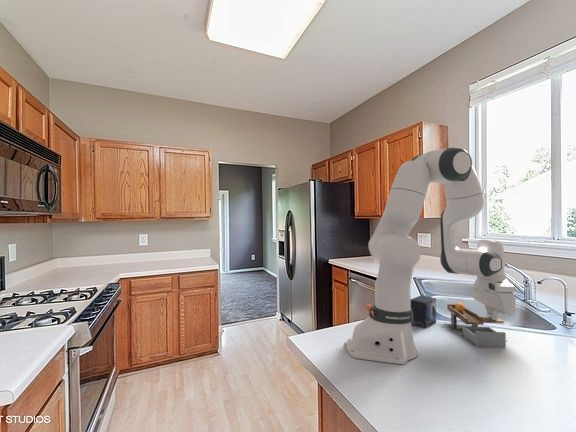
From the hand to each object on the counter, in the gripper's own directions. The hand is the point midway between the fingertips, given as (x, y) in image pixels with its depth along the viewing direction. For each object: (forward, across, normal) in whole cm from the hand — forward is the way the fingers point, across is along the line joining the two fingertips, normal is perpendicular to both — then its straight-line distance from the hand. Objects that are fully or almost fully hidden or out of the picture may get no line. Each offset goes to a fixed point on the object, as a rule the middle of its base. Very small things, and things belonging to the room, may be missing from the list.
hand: (492, 318), depth 106 cm
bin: (+5, +9, -8) cm, 13 cm away
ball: (-2, -7, -8) cm, 11 cm away
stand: (+5, -4, -8) cm, 11 cm away
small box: (+5, -8, -22) cm, 24 cm away
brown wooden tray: (+1, -4, -4) cm, 6 cm away
